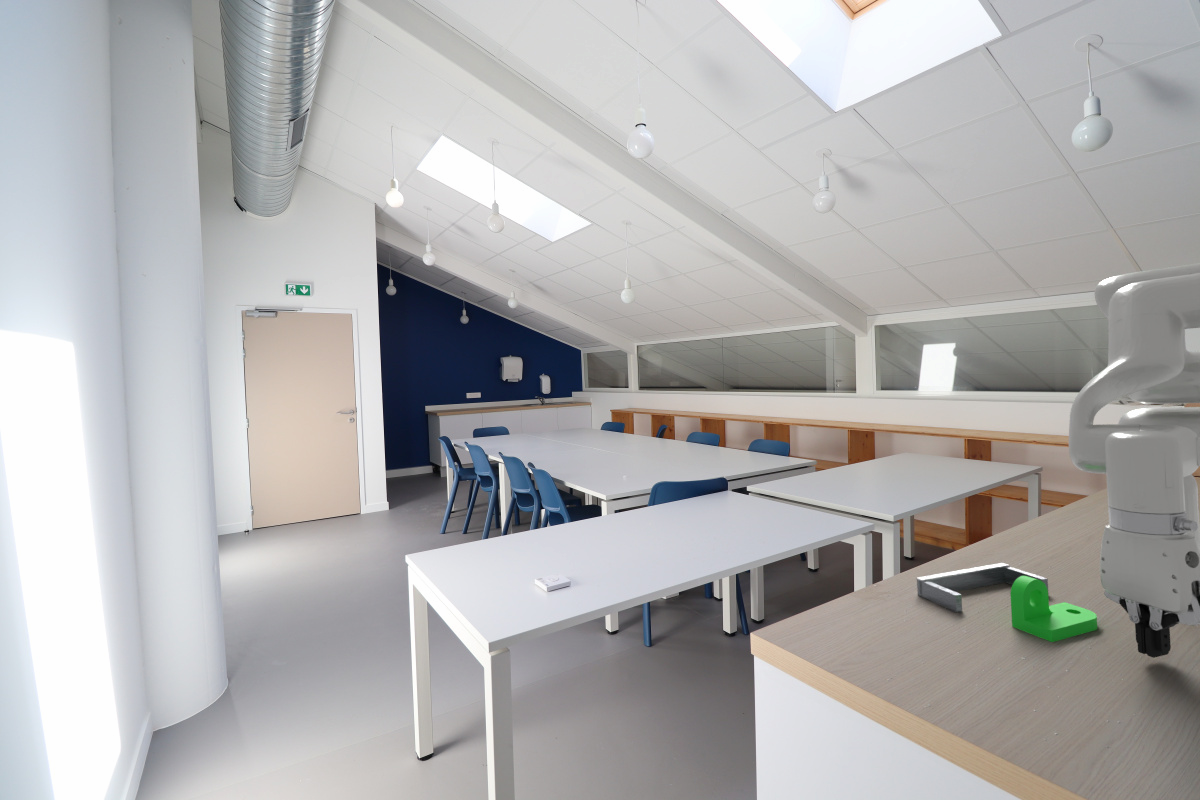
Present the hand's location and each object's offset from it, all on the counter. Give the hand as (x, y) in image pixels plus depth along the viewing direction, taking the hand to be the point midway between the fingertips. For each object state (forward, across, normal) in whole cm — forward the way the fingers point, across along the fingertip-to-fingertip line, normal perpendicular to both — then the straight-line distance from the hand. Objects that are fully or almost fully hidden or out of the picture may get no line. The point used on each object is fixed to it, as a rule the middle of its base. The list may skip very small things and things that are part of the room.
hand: (1153, 653), depth 75 cm
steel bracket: (+1, +27, 0) cm, 27 cm away
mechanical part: (+2, +12, 0) cm, 12 cm away
